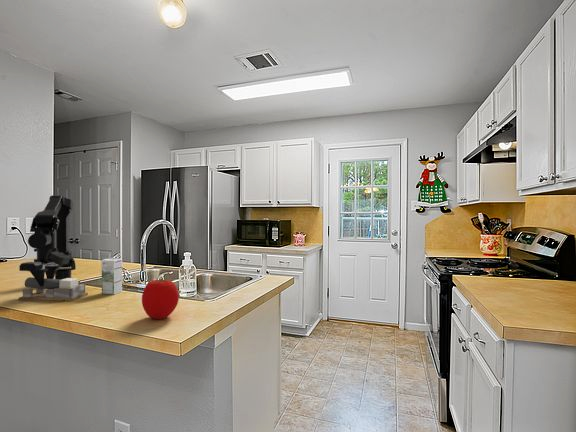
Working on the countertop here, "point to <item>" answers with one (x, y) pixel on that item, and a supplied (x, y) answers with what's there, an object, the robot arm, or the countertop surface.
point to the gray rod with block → (52, 283)
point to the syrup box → (111, 276)
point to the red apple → (160, 298)
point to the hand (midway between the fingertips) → (45, 284)
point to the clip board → (55, 293)
